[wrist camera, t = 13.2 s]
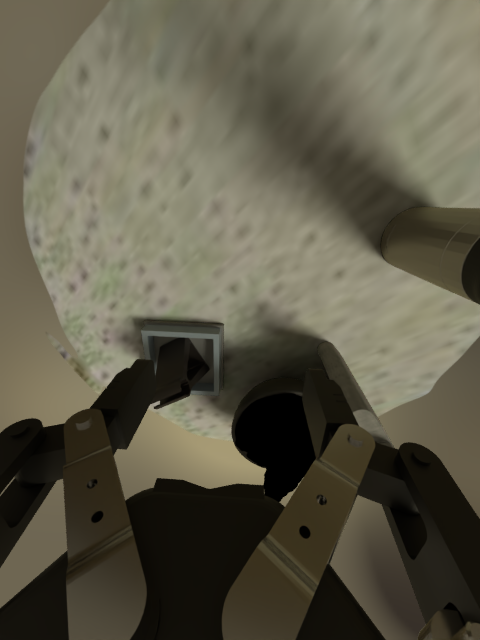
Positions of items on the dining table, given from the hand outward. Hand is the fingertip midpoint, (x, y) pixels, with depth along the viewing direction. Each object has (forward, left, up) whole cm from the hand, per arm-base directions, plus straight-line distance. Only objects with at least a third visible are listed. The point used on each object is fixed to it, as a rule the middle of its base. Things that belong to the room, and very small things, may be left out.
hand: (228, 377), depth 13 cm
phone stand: (+11, +20, -31) cm, 39 cm away
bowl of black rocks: (-9, +29, -32) cm, 44 cm away
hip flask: (-20, +22, -32) cm, 44 cm away
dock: (+11, +20, -32) cm, 39 cm away
